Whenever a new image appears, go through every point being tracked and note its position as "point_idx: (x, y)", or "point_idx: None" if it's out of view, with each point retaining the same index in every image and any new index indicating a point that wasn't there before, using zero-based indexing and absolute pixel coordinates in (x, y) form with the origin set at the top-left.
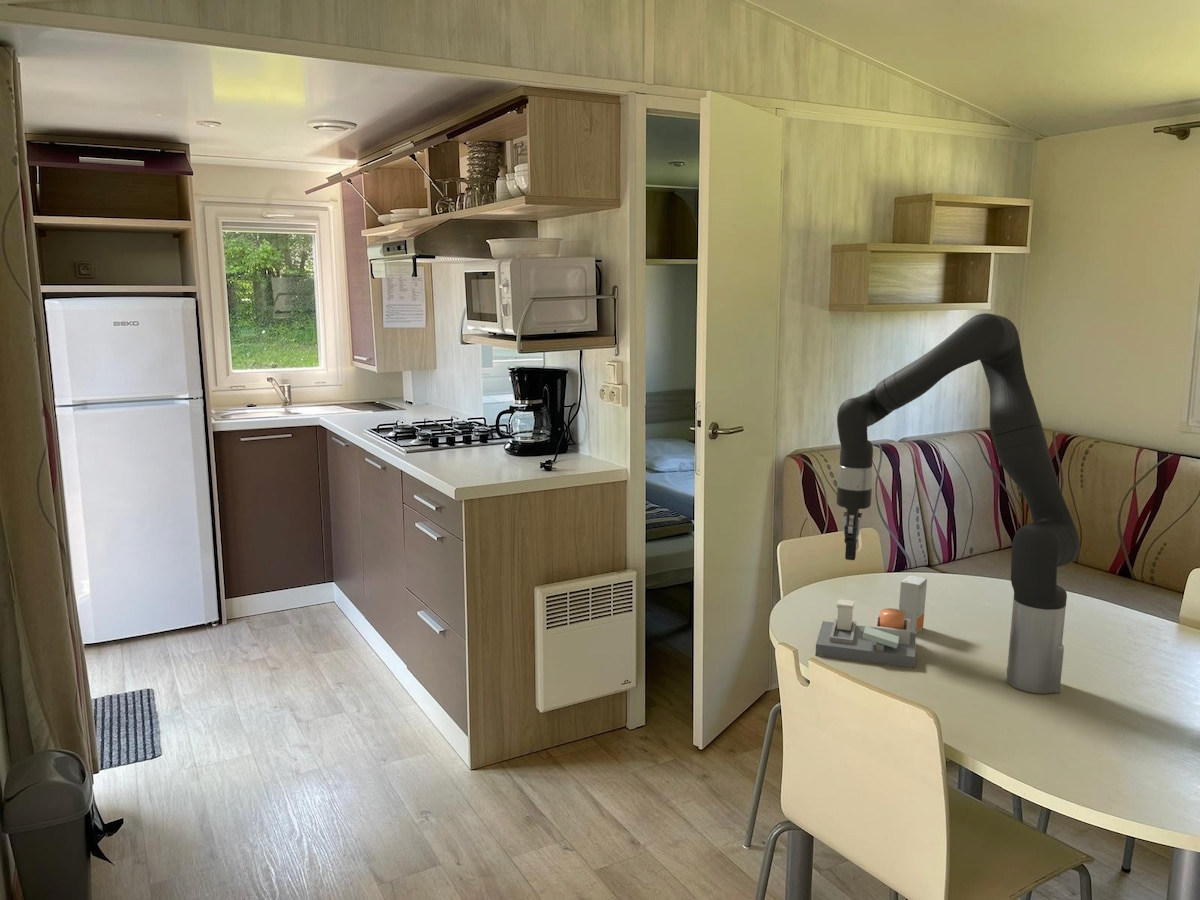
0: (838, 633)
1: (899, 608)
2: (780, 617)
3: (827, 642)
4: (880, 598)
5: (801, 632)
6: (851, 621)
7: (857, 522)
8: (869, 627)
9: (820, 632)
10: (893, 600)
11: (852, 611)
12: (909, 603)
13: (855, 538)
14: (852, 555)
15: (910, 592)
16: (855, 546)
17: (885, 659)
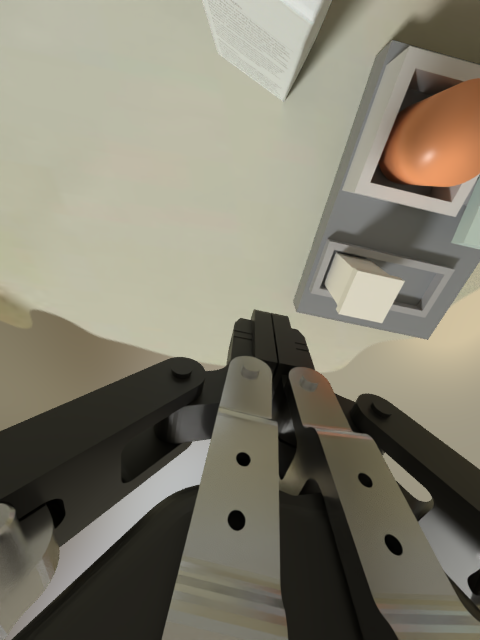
0: None
1: (293, 76)
2: (225, 364)
3: (423, 317)
4: (12, 106)
5: None
6: (372, 265)
7: (308, 595)
8: (471, 231)
9: (365, 324)
10: (9, 56)
11: (357, 266)
12: (323, 15)
13: (469, 465)
14: (303, 343)
15: None
16: (297, 361)
17: None
